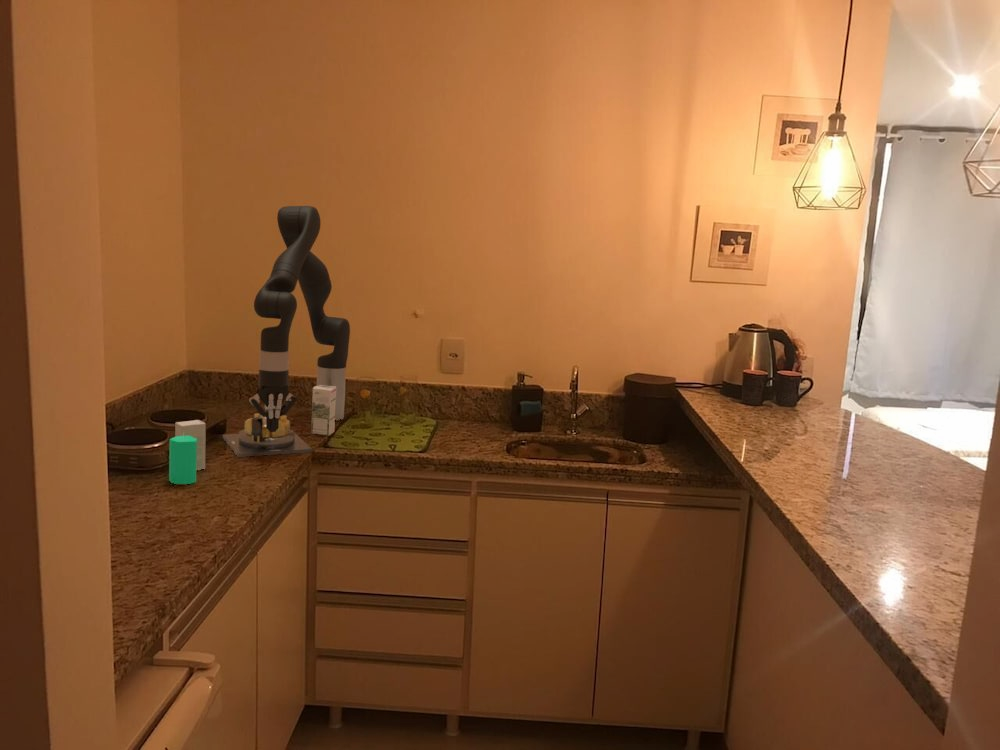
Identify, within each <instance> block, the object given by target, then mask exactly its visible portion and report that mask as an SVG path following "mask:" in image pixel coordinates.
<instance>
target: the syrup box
mask: <svg viewBox="0 0 1000 750" xmlns="http://www.w3.org/2000/svg"><path fill="white" fill-rule="evenodd" d="M335 404H336V386H326V385H317V384H316V385H314V386H313V387H312V401H311V424H310V425H311V426H310V427H311V430H310V434H311V435H316V434H318V435H319V436H325V435H326V437H328V436H331V435H332V434H333V433H335V427H336V426H335V423H336V422H335Z"/></svg>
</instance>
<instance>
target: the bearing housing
mask: <svg viewBox="0 0 1000 750" xmlns="http://www.w3.org/2000/svg"><path fill="white" fill-rule="evenodd" d="M260 417H261V418H263V424H264V425H266V417H263V416H262V415H260ZM222 439H223V441H226V442H225V443H226V445H228V447H229V446H230V447H229V448H230V449H231V451H232V450H233V451H234V452H233V451H232V452H233V453H234V454H235V456H236V455H237V456H236V457H237V458H238V457H239V458H250V457H249V456H254V457H263V456H262V455H268V456H278V454H282V455H293V454H295V453H296V454H305V453H307V454H308V453H313V448H312V447H311V446H310V445H309V444H308V443H306V441H304V439H302V438H301V437H300V436H299V435H298V434H297V433H296V432H295V431H294V430H292V429H290V432H289V433H288V434H287V435H285V436H280V437H274V438H272V437H270V438H265V437H263V438H262V441H260V442H254V441H251V436H250V435H248V434H246V433H245V432H244V429H241V430H239V432H238V433H229V434H227V433H225V434H222ZM292 453H293V454H292ZM247 456H248V457H247Z"/></svg>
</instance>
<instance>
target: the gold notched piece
mask: <svg viewBox="0 0 1000 750" xmlns="http://www.w3.org/2000/svg"><path fill="white" fill-rule="evenodd" d="M287 417H288V416H287V414H286V415H283V416H280V417H279V425H278V426H279V427H278V429H277V430H276V432H270V431H269V430H268V429H267V428H266V425H264V424H263V418H261V417H260V414H259V413H258V412H257V413H254V417H253V416H252V417H250V418H248V419H246V420H245V421H244V432H245V433H246V434H248V435H250V436H251V441H254V442H260V441H262V438H263V437H265V438H270V437H272V438H274V437H280V436H285V435H287V434H288V433H289V432H290V430H291V429H290V428H291V421H290V420H289V419H287Z"/></svg>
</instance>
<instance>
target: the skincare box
mask: <svg viewBox="0 0 1000 750" xmlns="http://www.w3.org/2000/svg"><path fill="white" fill-rule="evenodd" d="M174 425H175V428H174V431H175V433H174V435H175V436H174V437H177V436H183V432H184V436H191V437H194V438H197V470H198V471H202V470H201V469H204V470H205V469H206V446H207V445H206V441H207V440H206V434H207V433H206V430H207V429H206V427H207V426H206V425H207V424H206V423H205V422H204V421H202V420H200V419H194V420H188V421H187V420H186V421H176V422H175V424H174Z"/></svg>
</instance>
